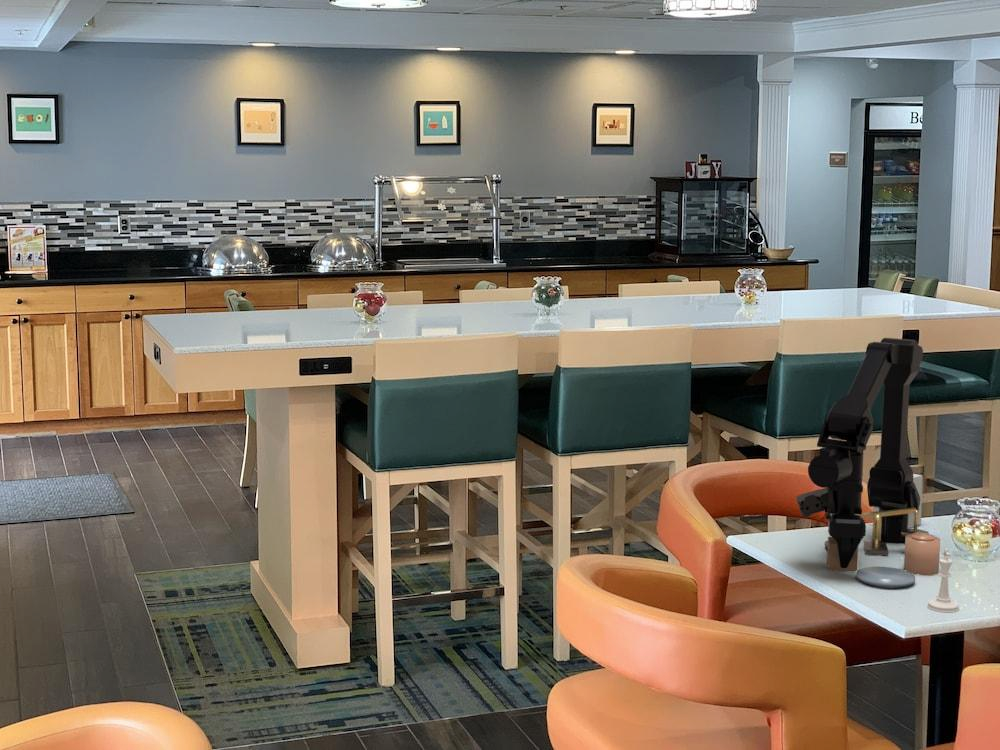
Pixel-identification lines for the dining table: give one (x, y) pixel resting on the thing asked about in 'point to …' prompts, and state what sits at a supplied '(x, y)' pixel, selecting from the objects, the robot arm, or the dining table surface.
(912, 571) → the terracotta lidded jar
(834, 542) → the walnut block
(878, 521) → the balance
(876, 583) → the disc
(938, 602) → the chess piece
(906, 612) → the dining table surface
